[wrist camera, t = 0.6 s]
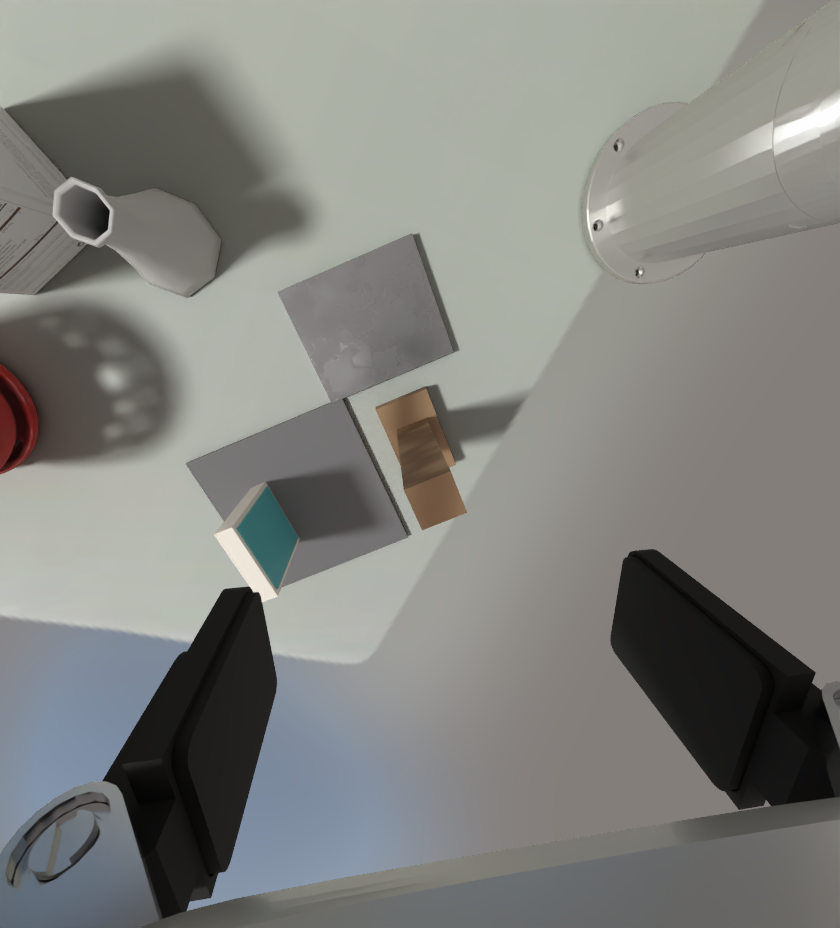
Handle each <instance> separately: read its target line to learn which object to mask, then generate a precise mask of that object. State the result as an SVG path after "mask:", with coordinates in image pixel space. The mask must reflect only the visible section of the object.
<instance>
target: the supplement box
mask: <svg viewBox="0 0 840 928" xmlns="http://www.w3.org/2000/svg"><path fill="white" fill-rule="evenodd" d="M66 180H67V179H66V178H65V177H64V176H63V174H62V173H61V172H60V171H59V170H58V169H57V168H56V167H55V166H54V164H53V163H52V162H51V161H50V160H49V159H48V158H47V157H46V155H45V154H44V153H43V152H42V151H41V150H40V149H39V148H38V147H37V145H36V144H35V143H34V142H33V141H32V140H31V139H30V138H29V137H28V136H27V134H26V133H25V132H24V131H23V130H22V129H21V128H20V127H19V126H18V124H17V123H16V122H15V121H14V120H13V119H12V118H11V117H10V116H9V115H8V113H7V112H6V111H5V110H4V109H3V108H2V107H0V293H9V294H24V295H35V294H36V293H37V292H38V291H39V290H40V289H41V288H42V287H43V286H44V285H45V284H46V283H47V282H48V281H49V280H51V279H52V278H53V277H54V276H55V275H56V274H57V273H58V272H59V271H60V270H61V269H62V268H63V267H64V266H65V265H66V264H67V263H68V262H69V261H70V260H71V259H72V258H73V257H74V256H76V255H77V254H78V253H79V252H80V251H81V250H82V249H83V248H84V247H85V246H86V245H87V243H84V242H82V241H79V240H76V239H74V238H71V237H70V235H69V234H68V233H67V232H66V231H65V230H64V228H63V227H62V226H61V225H60V224H59V223H58V221H57V220H56V219H55V218H54V217H53V216H52V214H53V200H54V190H55V189H57V188H58V187H59V186H60V185H61V184H63V183H64V182H65V181H66Z"/></svg>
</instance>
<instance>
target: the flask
mask: <svg viewBox="0 0 840 928" xmlns="http://www.w3.org/2000/svg"><path fill="white" fill-rule="evenodd" d="M52 216H53V217H54V218H55V219H56V220H57V221H58V223H59V224H60V225H61V226H62V227H63V228H64V230H65V231H66V232H67V233H68V234H69V235H70V237H71V238H74V239H76V240H79V241H82V242H84V243H87V244H90V245H92V246H95V247H98V248H101V247H102V246H104V245H107V246H109V247H110V248H112V249H114V250H115V251H116V252H117V253H119V254H120V255H121V256H122V257H123V258H124V259H125V260H126V261H127V262H128V263H129V264H130V265H132V266H133V267H134V268H135V269H136V271H137V272H138V273H139V274H140V275H141V276H142V277H143V278H144V279H145V280H146V281H147V282H148V283H149V284H151V285H154V286H157V287H159V288H162V289H165V290H168V291H170V292H173V293H176V294H178V295H181V296H184V297H187V298H188V297H189V296H190V295H192V294H193V293H194V292H196V291H197V290H198V289H200V288H201V287H202V286H204V285H205V284H206V283H208V282H209V281H210V280H212V279H213V278H214V277H215V272H216V267H217V262H218V256H219V251H220V246H221V241H222V240H221V239H220V237H219V236H218V235H217V233H216V232H215V231H214V229H213V228H212V226H211V225H210V224H209V222H208V221H207V220H206V218H205V217H204V216H203V214H202V213H201V211H200V210H199V209H198V207H197V206H196V205H195V204H193V203H191V202H189V201H186V200H184V199H181V198H179V197H177V196H174V195H172V194H169V193H167V192H165V191H162V190H160V189H157V188H152V189H148V190H145V191H141V192H138V193H134V194H129V195H124V196H118V197H114V196H107V195H106V194H105V193H104V191H103V190H102V189H101V188H99V187H97V186H94V185H92V184H89V183H87V182H84V181H82V180H79V179H77V178H75V177H72V176H71V177H70V178H69V179H67V180H66V181H65V182H64V183H63V184H61V185H60V186H59V187H58V188H57V189H55V190H54V200H53V214H52Z"/></svg>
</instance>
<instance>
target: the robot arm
mask: <svg viewBox="0 0 840 928" xmlns="http://www.w3.org/2000/svg"><path fill="white" fill-rule="evenodd" d="M614 148H615V150H614ZM582 222H583V229H584V235H585V238H586V241H587V244H588V247H589V249H590V251H591V253H592V255H593V256H594V258H595V260H596V261H597V262H598V264H599V265H600V266H601V267H602V268H603V269H604V270H605V271H606V272H608V273H609V274H611V275H612V276H614V277H615V278H617V279H619V280H622V281H625V282H628V283H635V284H647V283H654V282H660V281H665V280H667V279H670V278H672V277H675V276H677V275H679V274H681V273H682V272H684V271H686V270H687V269H688V268H690V267H692V266H693V265H694V264H695V263H696V262H697V261H698V260H699V259H700V258H702V257H703V256H704V254H705V253H706V252H709V251H714V250H719V249H723V248H728V247H733V246H737V245H742V244H746V243H751V242H755V241H760V240H765V239H769V238H774V237H778V236H782V235H787V234H792V233H796V232H801V231H805V230H810V229H815V228H819V227H824V226H828V225H833V224H837V223H840V0H832V1H831V2H829V3H828V4H826V5H825V6H824V7H822V8H821V9H819V10H818V11H817V12H815V13H814V14H812V15H811V16H810V17H809V18H807V19H806V20H804V21H803V22H802V23H800V24H799V25H797V26H796V27H795V28H793V29H792V30H790V31H789V32H787V33H786V34H785V35H783V36H782V37H780V38H779V39H778V40H776V41H775V42H773V43H772V44H771V45H769V46H768V47H766V48H765V49H764V50H762V51H761V52H760V53H758V54H757V55H755V56H754V57H753V58H751V59H750V60H748V61H747V62H746V63H744V64H743V65H742V66H740V67H739V68H737V69H736V70H734V71H733V72H732V73H731V74H729V75H728V76H726V77H725V78H723V79H722V80H721V81H719V82H718V83H716V84H715V85H714V86H712V87H711V88H709V89H708V90H707V91H705V92H704V93H702V94H701V95H700V96H698V97H697V98H695V99H694V100H693V101H691V102H690V103H689V104H687V103H682V102H671V103H662V104H659V105H656V106H653V107H650V108H648V109H646V110H644V111H642V112H641V113H639V114H637V115H635V116H634V117H632V118H631V119H630V120H629V121H627V122H626V123H625V124H624V125H622V126H621V127H620V128H619V129H618V130H617V131H616V132H615V133H614V134H613V135H612V136H611V137H610V138H609V139H608V141H607V142H606V144H605V145H604V146H603V148H602V149H601V151H600V152H599V154H598V156H597V158H596V160H595V162H594V164H593V166H592V168H591V170H590V173H589V176H588V179H587V182H586V185H585V190H584V196H583V202H582ZM593 225H594V226H595V230H594V229H593ZM635 271H636V275H635ZM611 645H612V648H613V651H614V652H615V654H616V655H617V656H618V658H619V659H620V661H621V662H622V663H623V665H624V666H625V667H626V668H627V670H628V671H629V672H630V674H631V675H632V676H633V678H634V679H635V680H636V682H637V683H638V684H639V686H640V687H641V688H642V689H643V691H644V692H645V694H646V695H647V696H648V698H649V699H650V700H651V702H652V703H653V704H654V706H655V707H656V708H657V710H658V711H659V712H660V714H661V715H662V716H663V718H664V719H665V720H666V722H667V723H668V724H669V726H670V727H671V728H672V730H673V731H674V732H675V734H676V735H677V736H678V738H679V739H680V740H681V741H682V743H683V744H684V746H685V747H686V748H687V750H688V751H689V752H690V754H691V755H692V756H693V757H694V759H695V760H696V761H697V763H698V764H699V765H700V767H701V768H702V769H703V771H704V772H705V773H706V775H707V776H708V778H709V779H710V780H711V782H712V783H713V784H714V785H715V786H716V787H717V788H719V789H720V790H722V791H725V792H726V793H727V795H728V796H729V797H730V799H731V800H732V801H733V803H734V804H735V805H736V806H737V808H738V809H739V810H740V809H745V808H752V807H758V806H763V805H764V803H765V800H767V801H768V803H769V804H770V805H771V806H770V807H763V808H758V809H751V810H745V811H738V812H732V813H726V814H720V815H713V816H707V817H701V818H695V819H688V820H682V821H676V822H670V823H664V824H657V825H652V826H645V827H639V828H633V829H627V830H621V831H615V832H609V833H603V834H597V835H591V836H585V837H580V838H573V839H567V840H561V841H555V842H549V843H543V844H537V845H532V846H525V847H519V848H514V849H508V850H502V851H496V852H490V853H484V854H478V855H472V856H466V857H461V858H455V859H449V860H444V861H438V862H432V863H426V864H420V865H415V866H409V867H403V868H398V869H392V870H386V871H381V872H375V873H369V874H363V875H357V876H352V877H346V878H340V879H334V880H330V881H324V882H319V883H314V884H309V885H304V886H298V887H293V888H288V889H283V890H278V891H273V892H268V893H263V894H258V895H252V896H248V897H242V898H237V899H233V900H229V901H225V902H221V903H217V904H213V905H209V906H205V907H201V908H198V909H193V910H189V911H187V908H188V904H189V901H195V900H201V899H207V898H211V896H212V893H213V889H214V886H215V882H216V878H217V875H218V873H220V872H225V871H226V870H227V868H228V866H229V864H230V861H231V857H232V853H233V850H234V846H235V842H236V839H237V835H238V831H239V828H240V824H241V820H242V817H243V813H244V809H245V805H246V802H247V798H248V794H249V790H250V787H251V783H252V779H253V775H254V772H255V768H256V764H257V761H258V757H259V753H260V750H261V746H262V742H263V738H264V734H265V731H266V727H267V724H268V720H269V716H270V712H271V709H272V705H273V701H274V697H275V694H276V687H277V677H276V672H275V666H274V661H273V656H272V651H271V646H270V641H269V636H268V631H267V626H266V620H265V615H264V610H263V605H262V600H261V596H260V593H259V592H253V591H252V589H251V587H240V588H229V589H224V590H223V591H222V593H221V594H220V596H219V598H218V599H217V601H216V603H215V605H214V606H213V608H212V610H211V612H210V613H209V615H208V617H207V618H206V620H205V622H204V624H203V625H202V627H201V629H200V631H199V632H198V634H197V636H196V637H195V639H194V641H193V643H192V644H191V646H190V648H189V650H188V651H187V652H183V653H181V654H180V655H179V656H178V657H177V658H176V660H175V661H174V663H173V665H172V666H171V668H170V669H169V671H168V673H167V675H166V677H165V678H164V679H163V681H162V683H161V684H160V686H159V688H158V689H157V691H156V693H155V694H154V696H153V698H152V699H151V701H150V703H149V705H148V706H147V708H146V710H145V711H144V713H143V715H142V716H141V718H140V720H139V721H138V723H137V724H136V726H135V728H134V729H133V731H132V733H131V734H130V736H129V738H128V739H127V741H126V743H125V744H124V746H123V748H122V749H121V751H120V753H119V754H118V756H117V758H116V759H115V761H114V763H113V764H112V766H111V767H110V769H109V771H108V772H107V774H106V776H105V777H104V779H103V781H102V782H90V783H88V784H84V785H81V786H78V787H75V788H73V789H71V790H69V791H67V792H66V793H64V794H62V795H60V796H58V797H56V798H55V799H53V800H52V801H51V802H49V803H48V804H46V805H45V806H44V807H42V808H41V809H40V810H38V811H37V812H36V813H35V814H34V815H33V816H32V817H31V818H30V819H28V820H27V821H26V822H25V823H24V824H23V825H22V826H21V827H20V828H19V829H18V830H17V832H16V833H15V834H14V835H13V837H12V838H11V839H10V841H9V842H8V843H7V844H6V846H5V847H4V848H3V850H2V852H1V854H0V928H840V682H837V681H836V682H831V683H827V684H826V685H825V686H824V687H823V689H822V690H820V689H819V688H817V687H816V686H815V685H814V684H812V681H813V678H814V676H815V672H814V671H813V670H812V669H810V668H809V667H808V666H806V665H805V664H804V663H803V662H801V661H800V660H799V659H797V658H796V657H795V656H793V655H792V654H791V653H790V652H788V651H787V650H786V649H784V648H783V647H782V646H780V645H779V644H778V643H777V642H775V641H774V640H773V639H771V638H770V637H769V636H767V635H766V634H765V633H764V632H762V631H761V630H760V629H758V628H757V627H756V626H754V625H753V624H752V623H751V622H749V621H748V620H747V619H745V618H744V617H743V616H742V615H740V614H739V613H738V612H736V611H735V610H734V609H732V608H731V607H730V606H729V605H727V604H726V603H725V602H723V601H722V600H721V599H720V598H718V597H717V596H716V595H714V594H713V593H712V592H710V591H709V590H708V589H707V588H705V587H704V586H702V585H701V584H700V583H699V582H697V581H696V580H695V579H694V578H692V577H691V576H690V575H688V574H687V573H686V572H684V571H683V570H682V569H681V568H679V567H678V566H677V565H675V564H674V563H673V562H671V561H670V560H669V559H668V558H666V557H665V556H664V555H662V554H661V553H660V552H658V551H657V550H654V549H650V550H639V551H632V552H630V553H629V555H628V557H627V558H625V559H624V560H623V564H622V570H621V576H620V583H619V588H618V595H617V601H616V607H615V614H614V619H613V625H612V631H611Z"/></svg>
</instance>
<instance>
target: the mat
mask: <svg viewBox="0 0 840 928" xmlns="http://www.w3.org/2000/svg"><path fill="white" fill-rule="evenodd" d="M186 465H187V467H188V468H189V470H190V471H191V473H192V474H193V476H194V477H195V479H196V480H197V482H198V483H199V485H200V486H201V488H202V489H203V490H204V492H205V493H206V495H207V496H208V498H209V499H210V501H211V502H212V504H213V505H214V507H215V508H216V510H217V511H218V513H219V514H220V516H221V517H222V519H223V520H224V521H225V520H226V519H227V517H228V516H229V515H230V514H231V512H232V511H233V510H234V509H235V507H236V506H237V505H238V504H239V502H240V501H241V500H242V499H243V497H244V496H245V495H246V494H247V492H248V491H249V490H250V489H251V487H254V486H256V485H259V484H261V483H263V482H266V483H267V485H268V487H269V488H270V490H271V492H272V493H273V495H274V497H275V498H276V500H277V502H278V503H279V505H280V507H281V508H282V510H283V512H284V513H285V515H286V517H287V518H288V520H289V522H290V523H291V525H292V527H293V528H294V530H295V532H296V533H297V535H298V537H299V539H300V540H299V542H298V545H297V547H296V550H295V553H294V555H293V558H292V560H291V563H290V566H289V568H288V571H287V573H286V576H285V579H284V581H283V584H282V586H281V587H284V586H286V585H289V584H291V583H294V582H296V581H299V580H301V579H304V578H306V577H309V576H312V575H314V574H317V573H319V572H322V571H324V570H327V569H329V568H332V567H334V566H337V565H339V564H342V563H344V562H347V561H349V560H352V559H354V558H357V557H359V556H362V555H365V554H367V553H370V552H372V551H375V550H377V549H380V548H382V547H385V546H387V545H390V544H392V543H395V542H397V541H400V540H402V539H405V538H407V537H408V535H407V533H406V531H405V529H404V527H403V525H402V522H401V520H400V518H399V516H398V514H397V512H396V510H395V508H394V506H393V503H392V501H391V499H390V497H389V495H388V493H387V491H386V489H385V487H384V485H383V482H382V480H381V478H380V476H379V474H378V472H377V470H376V468H375V466H374V463H373V461H372V459H371V457H370V455H369V453H368V451H367V449H366V447H365V444H364V442H363V440H362V438H361V436H360V434H359V432H358V430H357V428H356V425H355V423H354V421H353V419H352V417H351V415H350V413H349V411H348V409H347V406H346V404H345V402H344V400H343V399H340V400H338V401H336V402H333V403H329V404H326V405H324V406H321V407H319V408H317V409H314V410H312V411H309V412H307V413H305V414H302V415H300V416H298V417H295V418H293V419H290V420H288V421H286V422H283V423H281V424H278V425H276V426H274V427H271V428H269V429H266V430H264V431H262V432H259V433H257V434H254V435H252V436H250V437H247V438H245V439H243V440H240V441H238V442H235V443H233V444H231V445H228V446H226V447H223V448H221V449H219V450H216V451H214V452H211V453H209V454H207V455H204V456H202V457H200V458H197V459H195V460H192V461H190V462H188V463H186Z"/></svg>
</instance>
